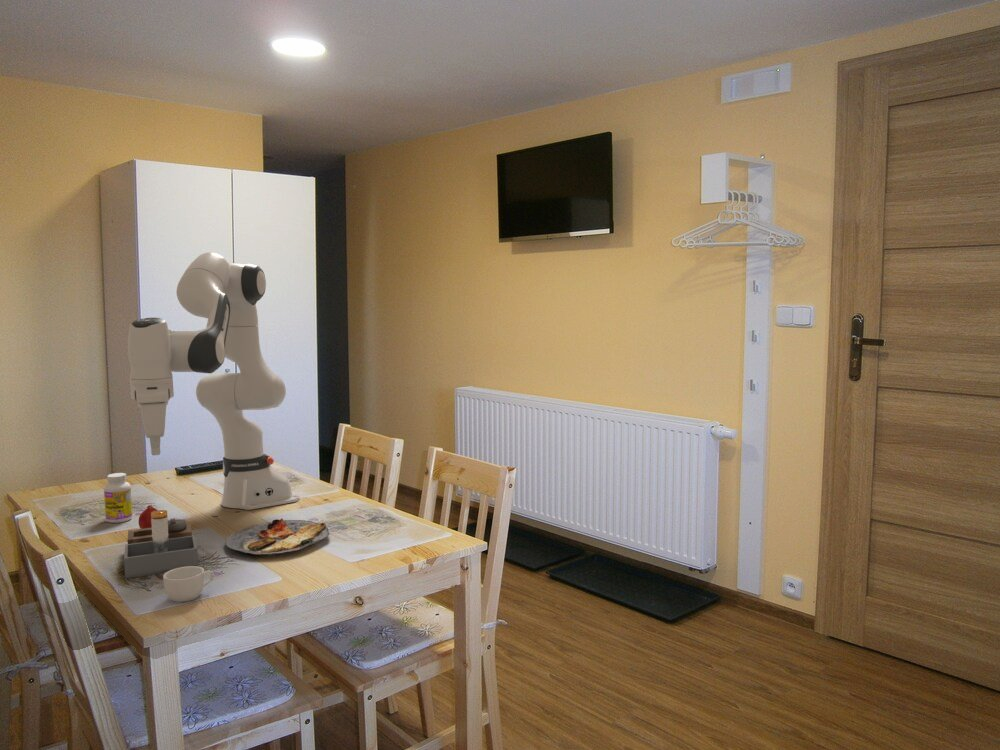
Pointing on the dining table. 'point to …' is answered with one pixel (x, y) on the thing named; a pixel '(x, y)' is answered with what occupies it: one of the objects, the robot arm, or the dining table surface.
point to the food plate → (278, 536)
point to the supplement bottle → (117, 499)
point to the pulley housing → (174, 531)
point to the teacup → (185, 583)
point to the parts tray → (159, 557)
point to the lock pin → (160, 531)
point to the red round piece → (146, 517)
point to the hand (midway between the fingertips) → (155, 450)
